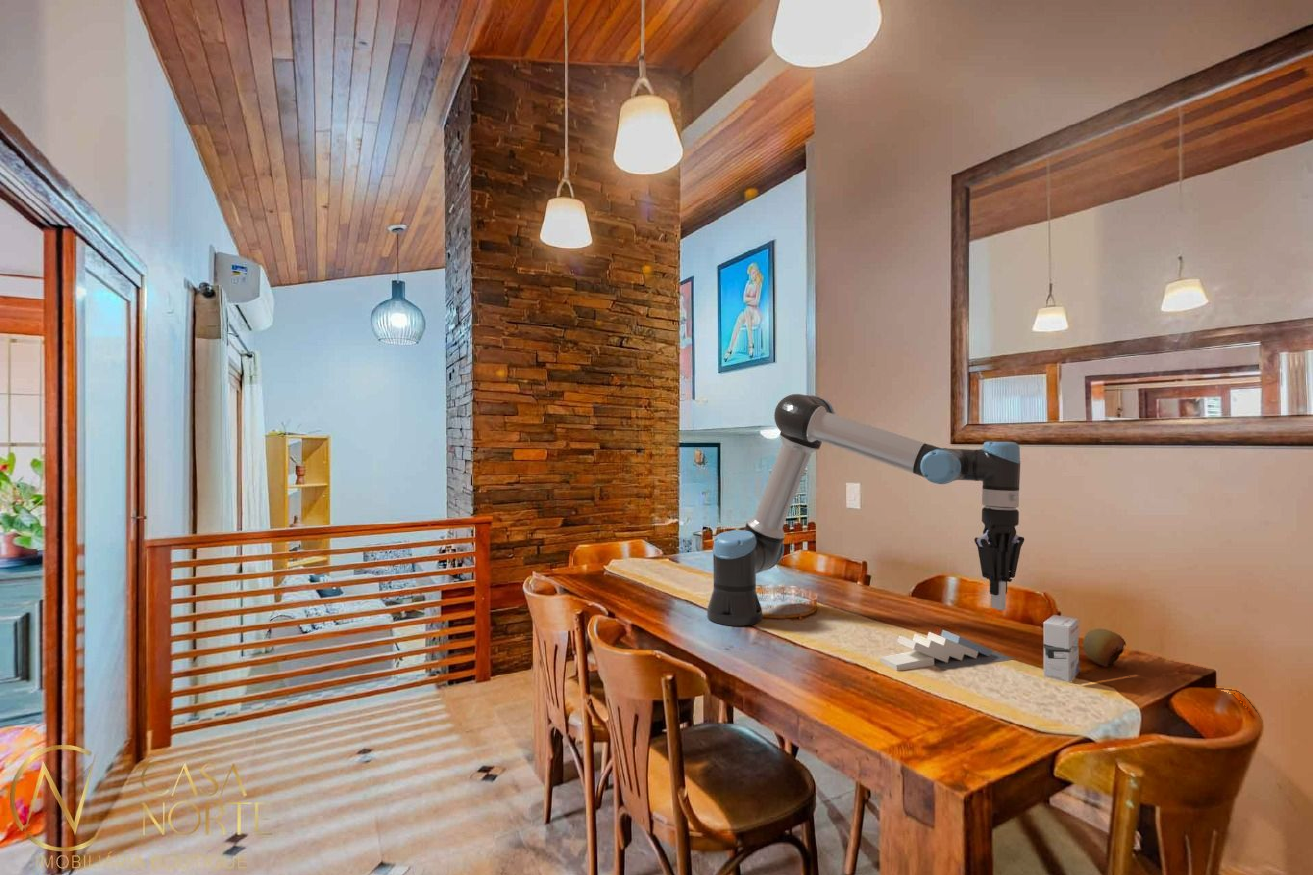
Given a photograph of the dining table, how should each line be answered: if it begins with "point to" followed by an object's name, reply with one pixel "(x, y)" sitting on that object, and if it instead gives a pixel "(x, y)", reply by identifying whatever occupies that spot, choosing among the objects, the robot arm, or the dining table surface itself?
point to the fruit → (1103, 646)
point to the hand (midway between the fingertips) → (997, 608)
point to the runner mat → (970, 661)
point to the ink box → (1061, 648)
